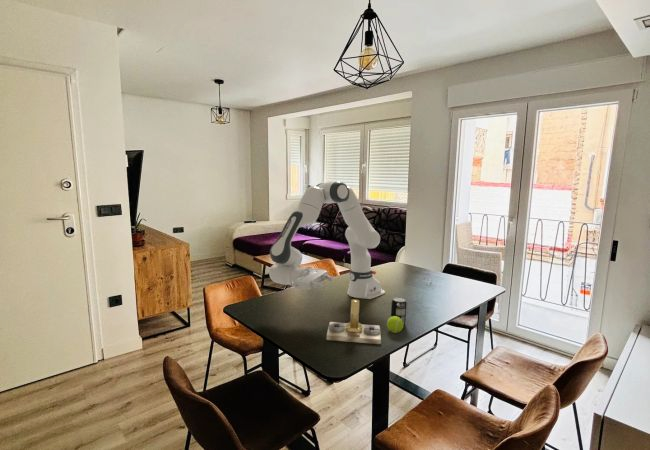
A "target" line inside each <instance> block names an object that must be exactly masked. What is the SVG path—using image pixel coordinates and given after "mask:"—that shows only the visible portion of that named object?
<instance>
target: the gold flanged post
mask: <svg viewBox="0 0 650 450" xmlns="http://www.w3.org/2000/svg"><path fill="white" fill-rule="evenodd" d="M359 314H360V299H357V298H356V299H351V300H350V321H349V322H350V323H349V322H348V323H349V324H347V325H346V331H347V332H348V333H361V332H362V325H360V324H361V323H360V324H358V323H359V318H360V317H359V316H360V315H359Z"/></svg>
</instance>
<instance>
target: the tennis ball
mask: <svg viewBox="0 0 650 450" xmlns="http://www.w3.org/2000/svg"><path fill="white" fill-rule="evenodd" d="M386 327H387V329H388V331H389V332H391V333H394V334H398V333H400V332H401V331H402V330H403V328H404V326H403V321H402V320H401V319H400V318H399V317H397V316H392V317H391V316H390V317H389V318H388V319H387V322H386Z"/></svg>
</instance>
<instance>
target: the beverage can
mask: <svg viewBox="0 0 650 450" xmlns="http://www.w3.org/2000/svg"><path fill="white" fill-rule="evenodd" d="M406 300H407V299H406V298H404V297H401V296H396V297H393V298H392V301H391V310H390V317H392V316H397V317H399V318H400V319H401V320H402V321H403V327H404V326H405V325H406V320H407V319H406V318H407V316H406V315H407V301H406Z"/></svg>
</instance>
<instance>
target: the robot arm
mask: <svg viewBox="0 0 650 450" xmlns="http://www.w3.org/2000/svg"><path fill="white" fill-rule="evenodd" d="M324 204H337V206H338V208H339V211H340V213H341V216H342V217H343V220H344V222H345V224H346V225H347V228H346V230H345V232H344V235H345V238H346V240H347V242H348V247H349V250H350V269H349V284H348V289H347V291H346V292H347V293H346V294H347V295H348V296H349V297H353V298H356V299H365V300H366V299H367V300H371V299H374V298H377V297H379V296H381V295H385V294H386V291H385V290H384V289H382V284H381V282H380V281H379V280H378V279H376V277H374V275H376V274H377V271H376V270H373V269H372V270H371V265H372V264H371V263H372V257H371V254H370V252H369V250H368V249H376V248H377V247H378V246H379V244H380V242H381V235H380V234H379V232H378V231H377V230H375V228H374V227H373V225H372V223H370V221H369V219H368V218H367V217H366V215H365V213H364V211H363V209H362V206H361V204H360V201H359V199H358V197H357V195H356V193H355V192H354V189H353V188H352V187H351V186H348V185H347V184H346V183H345V182H342V181H338V180H337V181H327V182H321V183H318V184H317V185H315V186H313V185H312V186H309V187H307V189H306V190H305V192H304V193H303V195H302V197H301V199H300V201H299V204H298V206H297V208H296V210H295V211H293V212H292V213H291V215H290V216H289V217H288V219H287V220H286V222H285V225H284V227H283V228H282V230H281V231H280V234H279V235H278V237H277V238H276V240H275V242H273V244H272V245H271V247H270V248H269V257H270V259H271V260H272V262H274V264H273V265H271V266H270V267H269V272H268V273H269V274H268V275H269V278H270V280H271V281H272V282H274V283H277V284H281V285H285V286H289V285H290V286H291V287H294V288H295V289H297V290H301V291H305V292H306V291H309V290H311V289H312V288H313V289H315V288H323V287H324V283H323V281H328V282H332V281H333V280H334V276H331V275H329V274H328V271H327V270H326V269H321V268H315V267H314V268H313V266H305V267H301V264H302V261H303V254H302V252H301V251H300V250H299V249H297V248H295V247H294V246H292V241H293V239H294V237H295V235H296V234H297V232H298V230H299V228H300V227H303V226H311V225H313V224H314V223H316V221H317V220H318V218H319V217H320V216H319V215H320V214H321V211H322V207H323V205H324Z"/></svg>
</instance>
